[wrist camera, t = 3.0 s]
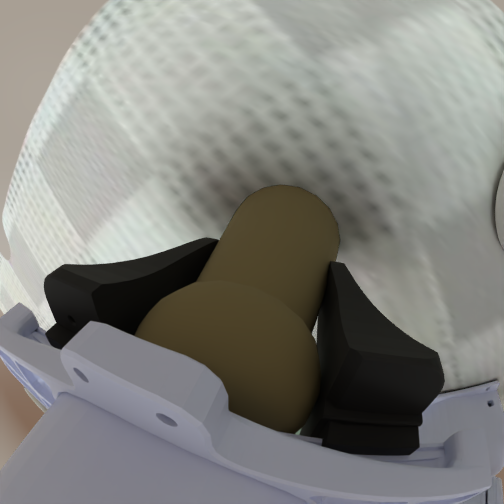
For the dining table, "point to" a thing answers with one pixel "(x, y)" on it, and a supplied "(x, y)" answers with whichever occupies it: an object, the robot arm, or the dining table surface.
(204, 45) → the dining table surface
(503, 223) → the pill bottle
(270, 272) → the olive brown knobbed peg
